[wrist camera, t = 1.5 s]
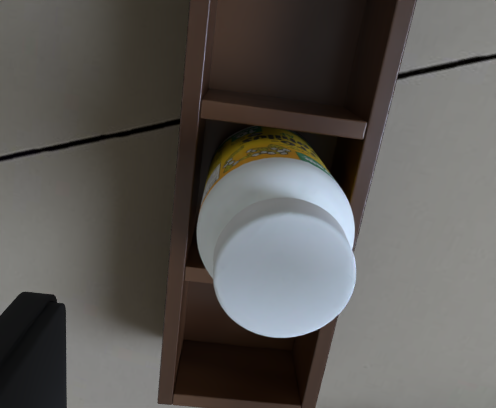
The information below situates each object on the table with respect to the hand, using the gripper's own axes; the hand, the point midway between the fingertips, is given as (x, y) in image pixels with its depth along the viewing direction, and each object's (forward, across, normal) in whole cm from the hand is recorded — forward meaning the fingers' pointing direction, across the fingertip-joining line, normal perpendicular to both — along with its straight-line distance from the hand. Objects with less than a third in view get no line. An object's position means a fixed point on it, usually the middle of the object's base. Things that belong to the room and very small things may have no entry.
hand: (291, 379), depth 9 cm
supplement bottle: (+13, 0, 0) cm, 13 cm away
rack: (+14, 0, 0) cm, 14 cm away
